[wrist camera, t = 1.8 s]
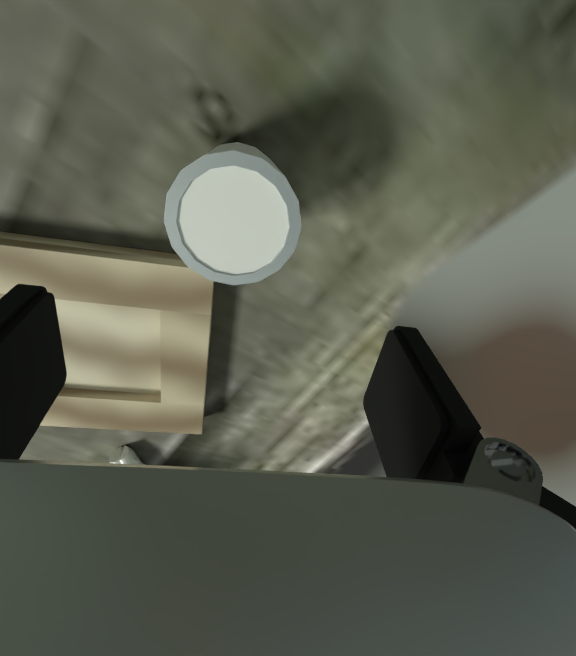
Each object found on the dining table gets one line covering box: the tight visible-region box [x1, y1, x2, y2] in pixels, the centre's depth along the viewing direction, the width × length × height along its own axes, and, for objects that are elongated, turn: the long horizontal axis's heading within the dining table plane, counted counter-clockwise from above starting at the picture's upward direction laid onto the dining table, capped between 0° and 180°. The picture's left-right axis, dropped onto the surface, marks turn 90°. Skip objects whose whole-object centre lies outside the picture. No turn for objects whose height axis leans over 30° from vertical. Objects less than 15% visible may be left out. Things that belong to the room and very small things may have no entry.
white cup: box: [164, 142, 302, 285], centre depth 22 cm, size 7×7×7 cm
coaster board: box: [0, 232, 215, 434], centre depth 30 cm, size 16×16×2 cm
